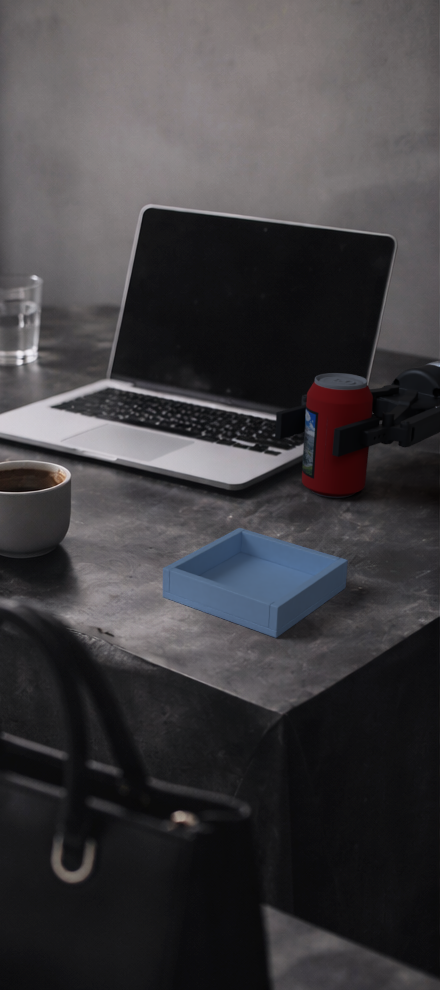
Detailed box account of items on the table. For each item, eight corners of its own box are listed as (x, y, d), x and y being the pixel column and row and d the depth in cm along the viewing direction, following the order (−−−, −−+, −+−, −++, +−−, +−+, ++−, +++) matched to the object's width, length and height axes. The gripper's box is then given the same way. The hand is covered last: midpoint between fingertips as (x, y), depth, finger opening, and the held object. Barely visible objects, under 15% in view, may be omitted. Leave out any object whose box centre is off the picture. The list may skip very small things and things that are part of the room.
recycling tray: (345, 588, 82) (348, 559, 81) (276, 638, 73) (277, 607, 72) (238, 554, 87) (239, 527, 87) (162, 597, 79) (162, 568, 78)
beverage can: (314, 475, 108) (321, 368, 104) (373, 485, 105) (383, 377, 101) (291, 493, 102) (297, 381, 98) (352, 505, 100) (362, 391, 95)
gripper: (505, 446, 108) (384, 495, 93) (362, 409, 121) (234, 446, 105) (515, 380, 106) (391, 419, 90) (367, 349, 118) (236, 378, 103)
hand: (306, 434), depth 98 cm, fingers closed on beverage can, 7 cm apart
